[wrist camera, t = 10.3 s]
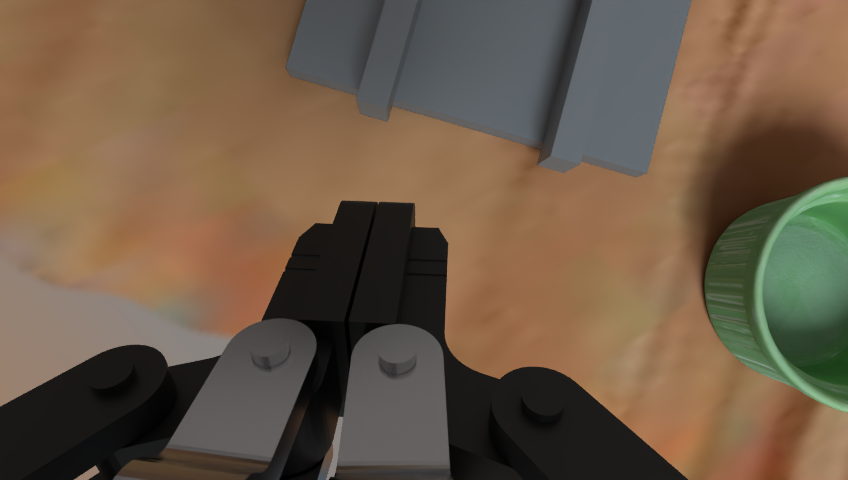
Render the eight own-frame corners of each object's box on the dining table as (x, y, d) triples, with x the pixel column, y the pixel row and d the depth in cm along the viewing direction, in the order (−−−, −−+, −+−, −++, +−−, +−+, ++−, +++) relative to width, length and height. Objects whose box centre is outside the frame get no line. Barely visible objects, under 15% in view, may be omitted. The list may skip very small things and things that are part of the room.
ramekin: (904, 356, 24) (1018, 376, 20) (722, 414, 23) (798, 448, 19) (845, 169, 24) (944, 147, 20) (664, 221, 24) (726, 211, 19)
